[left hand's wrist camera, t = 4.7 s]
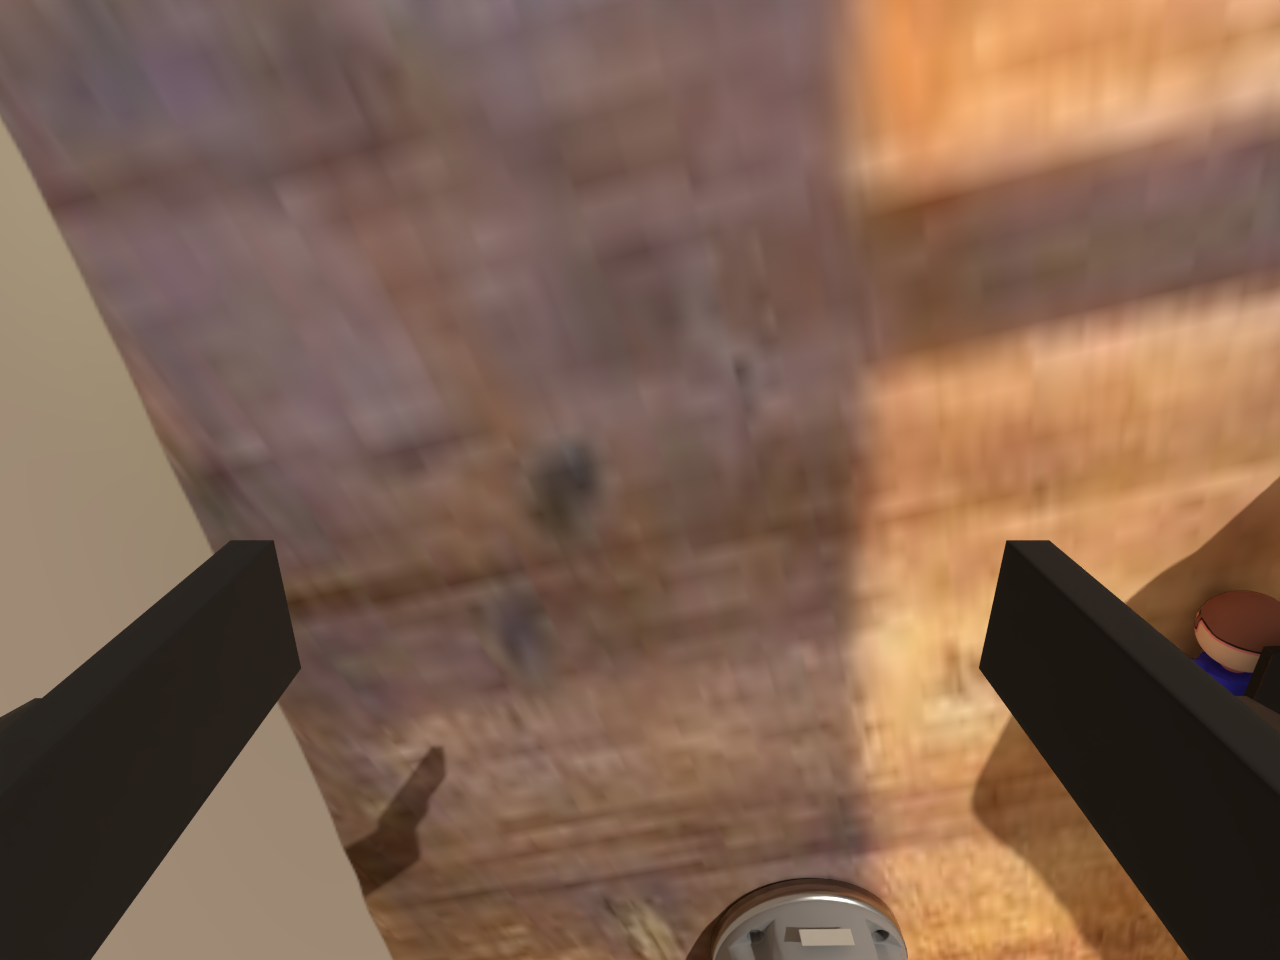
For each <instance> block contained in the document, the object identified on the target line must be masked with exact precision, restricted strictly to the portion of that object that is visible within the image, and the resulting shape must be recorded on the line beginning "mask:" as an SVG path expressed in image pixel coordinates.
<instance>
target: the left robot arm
mask: <svg viewBox="0 0 1280 960" xmlns="http://www.w3.org/2000/svg"><path fill="white" fill-rule="evenodd" d="M300 669H301V666H300V661H299V656H298V652H297V647H296V642H295V638H294V633H293V628H292V624H291V619H290V615H289V610H288V605H287V601H286V596H285V591H284V587H283V582H282V577H281V573H280V568H279V563H278V559H277V554H276V550H275V545H274V540H231V541H230V542H228V543H227V544H226V545H225V546H224V547H222V548H221V549H220V550H219V551H218V552H216V553H215V554H214V555H213V556H212V557H210V558H209V559H208V560H207V561H206V562H204V563H203V564H202V565H201V566H200V567H199V568H197V569H196V570H195V571H194V572H192V573H191V574H190V575H189V576H188V577H186V578H185V579H184V580H183V581H182V582H181V583H179V584H178V585H177V586H176V587H175V588H173V589H172V590H171V591H170V592H169V593H167V594H166V595H165V596H164V597H163V598H161V599H160V600H159V601H158V602H157V603H155V604H154V605H153V606H152V607H151V608H149V609H148V610H147V611H146V612H145V613H143V614H142V615H141V616H140V617H139V618H137V619H136V620H135V621H134V622H133V623H131V624H130V625H129V626H128V627H127V628H125V629H124V630H123V631H122V632H121V633H119V634H118V635H117V636H116V637H115V638H113V639H112V640H111V641H110V642H109V643H108V644H106V645H105V646H104V647H103V648H102V649H100V650H99V651H98V652H97V653H96V654H94V655H93V656H92V657H91V658H90V659H88V660H87V661H86V662H85V663H84V664H82V665H81V666H80V667H79V668H78V669H76V670H75V671H74V672H73V673H72V674H70V675H69V676H68V677H67V678H66V679H65V680H63V681H62V682H61V683H60V684H58V685H57V686H56V687H55V688H54V689H53V690H51V691H50V692H49V693H48V694H47V695H45V696H44V697H43V698H35V699H33V700H31V701H29V702H27V703H26V704H24V705H22V706H20V707H18V708H16V709H15V710H13V711H11V712H9V713H7V714H6V715H4V716H2V717H0V960H91V959H92V957H93V956H94V954H95V953H96V952H97V950H98V949H99V947H100V946H101V945H102V943H103V942H104V941H105V939H106V938H107V936H108V935H109V934H110V932H111V931H112V929H113V928H114V927H115V925H116V924H117V923H118V921H119V920H120V918H121V917H122V916H123V914H124V913H125V911H126V910H127V909H128V907H129V906H130V905H131V903H132V902H133V900H134V899H135V898H136V896H137V895H138V893H139V892H140V891H141V889H142V888H143V886H144V885H145V884H146V882H147V881H148V880H149V878H150V877H151V875H152V874H153V873H154V871H155V870H156V868H157V867H158V866H159V864H160V863H161V862H162V860H163V859H164V857H165V856H166V855H167V853H168V852H169V850H170V849H171V848H172V846H173V845H174V843H175V842H176V841H177V839H178V838H179V837H180V835H181V834H182V832H183V831H184V830H185V828H186V827H187V825H188V824H189V823H190V821H191V820H192V818H193V817H194V816H195V814H196V813H197V812H198V810H199V809H200V807H201V806H202V805H203V803H204V802H205V801H206V799H207V798H208V796H209V795H210V794H211V792H212V791H213V789H214V788H215V787H216V785H217V784H218V783H219V781H220V780H221V778H222V777H223V776H224V774H225V773H226V771H227V770H228V769H229V767H230V766H231V765H232V763H233V762H234V760H235V759H236V758H237V756H238V755H239V753H240V752H241V751H242V749H243V748H244V746H245V745H246V744H247V742H248V741H249V740H250V738H251V737H252V735H253V734H254V733H255V731H256V730H257V729H258V727H259V726H260V724H261V723H262V722H263V720H264V719H265V717H266V716H267V715H268V713H269V712H270V710H271V709H272V708H273V706H274V705H275V704H276V702H277V701H278V699H279V698H280V697H281V695H282V694H283V692H284V691H285V690H286V688H287V687H288V686H289V684H290V683H291V681H292V680H293V679H294V677H295V676H296V674H297V673H298V672H299V670H300ZM979 669H980V670H981V672H982V673H983V674H984V676H985V677H986V679H987V680H988V681H989V683H990V684H991V686H992V687H993V688H994V690H995V691H996V692H997V694H998V695H999V697H1000V698H1001V699H1002V701H1003V702H1004V704H1005V705H1006V706H1007V708H1008V709H1009V710H1010V712H1011V713H1012V715H1013V716H1014V717H1015V719H1016V720H1017V722H1018V723H1019V724H1020V726H1021V727H1022V729H1023V730H1024V731H1025V733H1026V734H1027V735H1028V737H1029V738H1030V740H1031V741H1032V742H1033V744H1034V745H1035V747H1036V748H1037V749H1038V751H1039V752H1040V753H1041V755H1042V756H1043V758H1044V759H1045V760H1046V762H1047V763H1048V765H1049V766H1050V767H1051V769H1052V770H1053V771H1054V773H1055V774H1056V776H1057V777H1058V778H1059V780H1060V781H1061V783H1062V784H1063V785H1064V787H1065V788H1066V789H1067V791H1068V792H1069V794H1070V795H1071V796H1072V798H1073V799H1074V801H1075V802H1076V803H1077V805H1078V806H1079V808H1080V809H1081V810H1082V812H1083V813H1084V814H1085V816H1086V817H1087V819H1088V820H1089V821H1090V823H1091V824H1092V826H1093V827H1094V828H1095V830H1096V831H1097V832H1098V834H1099V835H1100V837H1101V838H1102V839H1103V841H1104V842H1105V844H1106V845H1107V846H1108V848H1109V849H1110V850H1111V852H1112V853H1113V855H1114V856H1115V857H1116V859H1117V860H1118V862H1119V863H1120V864H1121V866H1122V867H1123V868H1124V870H1125V871H1126V873H1127V874H1128V875H1129V877H1130V878H1131V880H1132V881H1133V882H1134V884H1135V885H1136V886H1137V888H1138V889H1139V891H1140V892H1141V893H1142V895H1143V896H1144V898H1145V899H1146V900H1147V902H1148V903H1149V905H1150V906H1151V907H1152V909H1153V910H1154V911H1155V913H1156V914H1157V916H1158V917H1159V918H1160V920H1161V921H1162V923H1163V924H1164V925H1165V927H1166V928H1167V929H1168V931H1169V932H1170V934H1171V935H1172V936H1173V938H1174V939H1175V941H1176V942H1177V943H1178V945H1179V946H1180V947H1181V949H1182V950H1183V952H1184V953H1185V954H1186V956H1187V957H1188V959H1189V960H1280V714H1278V713H1276V712H1275V711H1273V710H1271V709H1269V708H1267V707H1265V706H1264V705H1262V704H1260V703H1258V702H1256V701H1254V700H1253V699H1251V698H1249V697H1247V696H1235V695H1234V694H1232V693H1231V692H1230V691H1229V690H1228V689H1226V688H1225V687H1224V686H1223V685H1222V684H1220V683H1219V682H1218V681H1217V680H1216V679H1214V678H1213V677H1212V676H1211V675H1210V674H1208V673H1207V672H1206V671H1205V670H1204V669H1202V668H1201V667H1200V666H1199V665H1198V664H1196V663H1195V662H1194V661H1193V660H1192V659H1190V658H1189V657H1188V656H1187V655H1186V654H1184V653H1183V652H1182V651H1181V650H1180V649H1178V648H1177V647H1176V646H1175V645H1174V644H1172V643H1171V642H1170V641H1169V640H1168V639H1167V638H1165V637H1164V636H1163V635H1162V634H1161V633H1159V632H1158V631H1157V630H1156V629H1155V628H1153V627H1152V626H1151V625H1150V624H1149V623H1147V622H1146V621H1145V620H1144V619H1143V618H1141V617H1140V616H1139V615H1138V614H1137V613H1135V612H1134V611H1133V610H1132V609H1131V608H1129V607H1128V606H1127V605H1126V604H1125V603H1123V602H1122V601H1121V600H1120V599H1119V598H1117V597H1116V596H1115V595H1114V594H1113V593H1111V592H1110V591H1109V590H1108V589H1107V588H1105V587H1104V586H1103V585H1102V584H1101V583H1100V582H1098V581H1097V580H1096V579H1095V578H1094V577H1092V576H1091V575H1090V574H1089V573H1088V572H1086V571H1085V570H1084V569H1083V568H1082V567H1080V566H1079V565H1078V564H1077V563H1076V562H1074V561H1073V560H1072V559H1071V558H1070V557H1068V556H1067V555H1066V554H1065V553H1064V552H1062V551H1061V550H1060V549H1059V548H1058V547H1056V546H1055V545H1054V544H1053V543H1052V542H1050V541H1049V540H1006V545H1005V550H1004V554H1003V559H1002V563H1001V568H1000V573H999V577H998V582H997V587H996V591H995V596H994V601H993V605H992V610H991V615H990V619H989V624H988V628H987V633H986V638H985V642H984V647H983V652H982V656H981V661H980V666H979ZM711 960H908V955H907V949H906V945H905V942H904V939H903V937H902V934H901V931H900V928H899V925H898V923H897V920H896V918H895V916H894V914H893V913H892V911H891V910H890V908H889V907H888V906H887V905H886V904H885V903H884V902H883V901H882V900H881V899H879V898H878V897H877V896H875V895H874V894H872V893H870V892H869V891H867V890H865V889H863V888H861V887H858V886H855V885H853V884H850V883H846V882H842V881H837V880H830V879H817V878H810V879H797V880H790V881H784V882H780V883H776V884H773V885H770V886H767V887H764V888H762V889H759V890H757V891H755V892H753V893H751V894H749V895H747V896H746V897H744V898H743V899H741V900H740V901H738V902H737V903H736V904H734V905H733V906H732V907H731V908H730V909H729V910H728V911H727V912H726V913H725V914H724V915H723V917H722V918H721V919H720V921H719V922H718V924H717V926H716V928H715V930H714V933H713V936H712V940H711Z"/></svg>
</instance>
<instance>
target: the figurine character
mask: <svg viewBox="0 0 1280 960" xmlns="http://www.w3.org/2000/svg"><path fill="white" fill-rule="evenodd" d="M1194 630H1195V635H1196V638H1197V640H1198V642H1199V644H1200V646H1201V647H1202V649H1203V650H1204V651H1205V652H1202V653H1201V654H1200V655H1199V657H1198V659H1192V660H1193V661H1194V662H1195V663H1196V664H1198V665H1199V666H1200V667H1201V668H1202V669H1204V670H1205V671H1206V672H1207V673H1208V674H1210V675H1211V676H1212V677H1213V678H1214V679H1216V680H1217V681H1218V682H1219V683H1220V684H1222V685H1223V686H1224V687H1225V688H1226V689H1228V690H1229V691H1230V692H1231V693H1232V694H1234V695H1235V696H1247V697H1249V698H1251V699H1253V700H1254V701H1256V702H1258V703H1260V704H1262V705H1264V706H1265V707H1267V708H1269V709H1271V710H1273V711H1275V712H1276V713H1278V714H1280V602H1279V601H1277V600H1275V599H1274V598H1272V597H1269V596H1267V595H1264V594H1261V593H1257V592H1252V591H1230V592H1225V593H1222V594H1219V595H1217V596H1215V597H1213V598H1211V599H1209V600H1208V601H1207V602H1206V603H1204V605H1203V606H1202V607H1201V608H1200V609H1199V611H1198V613H1197V615H1196V618H1195V623H1194Z"/></svg>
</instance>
